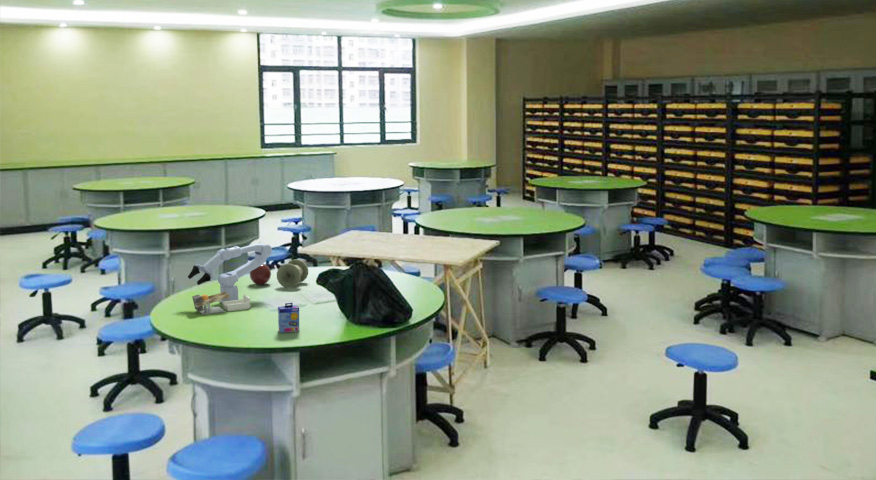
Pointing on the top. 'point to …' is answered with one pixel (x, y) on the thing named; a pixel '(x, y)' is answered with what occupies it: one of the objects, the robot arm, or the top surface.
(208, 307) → the lever stand
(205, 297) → the ball
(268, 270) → the round-bottom flask
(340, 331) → the top surface
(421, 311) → the top surface
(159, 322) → the top surface
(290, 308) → the ink cartridge box
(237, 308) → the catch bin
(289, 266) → the spool
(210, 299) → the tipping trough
